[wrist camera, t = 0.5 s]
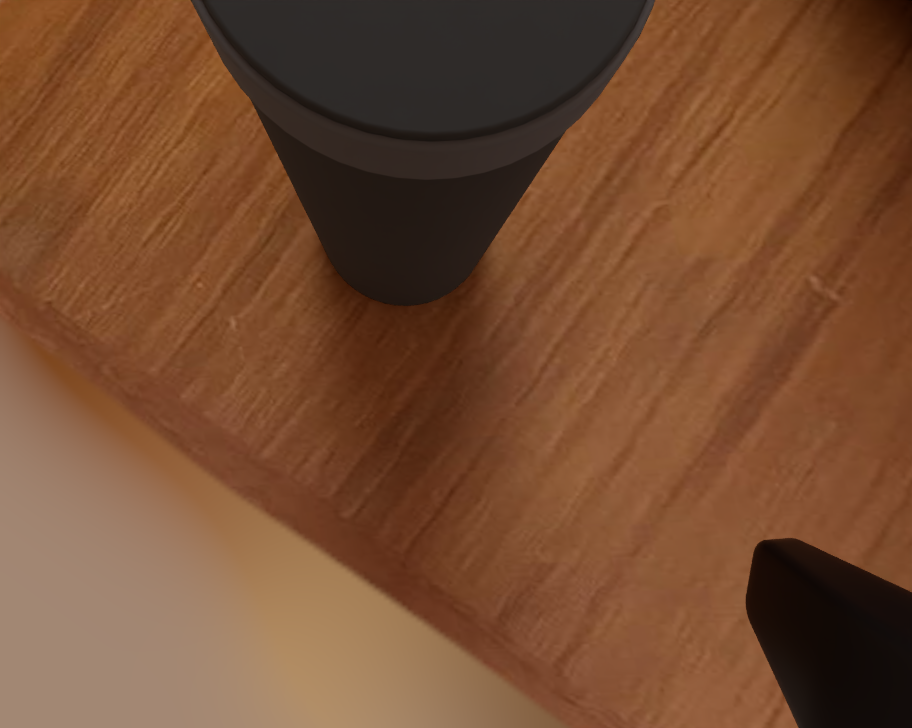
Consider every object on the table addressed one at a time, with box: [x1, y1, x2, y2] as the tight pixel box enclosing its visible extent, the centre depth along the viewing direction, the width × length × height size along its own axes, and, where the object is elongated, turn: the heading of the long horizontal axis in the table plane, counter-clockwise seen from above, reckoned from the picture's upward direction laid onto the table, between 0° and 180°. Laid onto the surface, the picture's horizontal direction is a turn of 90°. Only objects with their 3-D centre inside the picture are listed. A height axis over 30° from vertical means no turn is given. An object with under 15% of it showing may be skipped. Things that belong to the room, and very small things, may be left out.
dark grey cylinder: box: [191, 0, 655, 306], centre depth 13 cm, size 5×5×14 cm
